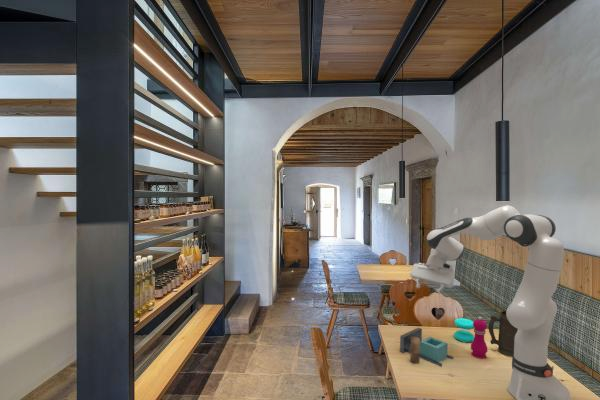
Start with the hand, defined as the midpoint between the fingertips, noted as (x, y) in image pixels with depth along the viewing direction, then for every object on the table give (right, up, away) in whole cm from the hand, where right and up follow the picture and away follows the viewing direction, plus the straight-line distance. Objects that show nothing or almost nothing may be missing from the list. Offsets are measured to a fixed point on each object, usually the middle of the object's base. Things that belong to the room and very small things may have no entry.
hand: (427, 290), depth 171 cm
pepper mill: (+25, -33, 0) cm, 41 cm away
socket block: (+2, -31, -2) cm, 31 cm away
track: (0, -32, 0) cm, 32 cm away
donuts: (+27, -32, +20) cm, 47 cm away
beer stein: (+41, -33, +6) cm, 53 cm away
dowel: (-8, -32, -7) cm, 34 cm away
